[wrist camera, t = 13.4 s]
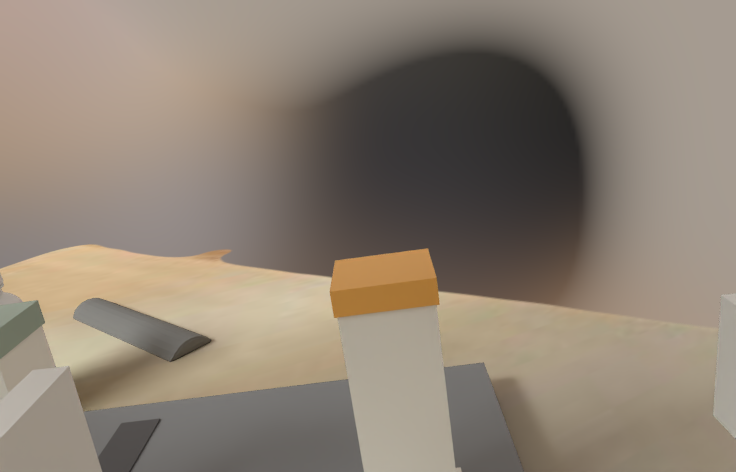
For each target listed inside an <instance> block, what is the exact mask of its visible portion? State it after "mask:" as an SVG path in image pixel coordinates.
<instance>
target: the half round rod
mask: <svg viewBox="0 0 736 472" xmlns="http://www.w3.org/2000/svg"><path fill="white" fill-rule="evenodd" d="M73 318H74V319H75V320H78V321H80V322H82V323H84V324H87V325H89V326H91V327H93V328H96V329H98V330H100V331H102V332H105V333H107V334H109V335H111V336H113V337H116V338H118V339H120V340H122V341H125V342H127V343H129V344H131V345H134V346H136V347H138V348H140V349H142V350H145V351H147V352H149V353H151V354H154V355H156V356H158V357H160V358H163V359H165V360H167V361H169V362H171V361H174V360H176V359H177V358H179V357H181V356H183V355H185V354H187V353H189V352H191V351H193V350H195V349H197V348H199V347H201V346H203V345H205V344H207V343H209V342H210V341H211V340H210V339H209V338H208V337H206V336H203V335H200V334H197V333H195V332H192V331H189V330H186V329H184V328H181V327H178V326H175V325H173V324H170V323H167V322H164V321H161V320H159V319H156V318H153V317H150V316H148V315H145V314H142V313H139V312H137V311H134V310H131V309H128V308H126V307H123V306H120V305H117V304H115V303H112V302H109V301H106V300H104V299H100V298H92V299H88V300H86V301H84V302H82V303H81V304H80V305H79V306H78V307H77V309H76V310H75V312H74V316H73Z"/></svg>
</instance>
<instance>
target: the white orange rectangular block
mask: <svg viewBox="0 0 736 472" xmlns="http://www.w3.org/2000/svg"><path fill="white" fill-rule="evenodd" d="M330 296H331V302H332V308H333V313H334V318H338V324H339V329H340V335H341V341H342V347H343V353H344V359H345V364H346V370H347V376H348V382H349V388H350V394H351V399H352V405H353V411H354V417H355V423H356V429H357V434H358V440H359V446H360V452H361V458H362V464H363V469H364V472H462V471H461V467H459V468H455V460H454V451H453V442H452V434H451V425H450V417H449V408H448V399H447V391H446V382H445V374H444V365H443V356H442V348H441V339H440V331H439V322H438V313H437V305H439V295H438V287H437V278H436V275H435V271H434V268H433V264H432V261H431V258H430V255H429V251H428V249H421V250H413V251H405V252H398V253H390V254H382V255H375V256H368V257H360V258H352V259H345V260H337V261H335V265H334V270H333V276H332V282H331V287H330Z"/></svg>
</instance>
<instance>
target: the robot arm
mask: <svg viewBox="0 0 736 472" xmlns="http://www.w3.org/2000/svg"><path fill="white" fill-rule="evenodd" d="M713 416H714V417H715V418H716V419H717V420H718V421H719V422H720V423H721V424H722V425H723V426H724V427H725V429H726V430H727V431H728V432H729V433H730V434H731V435H732V436H733V437H734V438H735V439H736V293H735V294H727V295H721V304H720V319H719V333H718V348H717V363H716V379H715V394H714V409H713ZM0 472H102V469H101V466H100V463H99V460H98V457H97V453H96V450H95V447H94V444H93V441H92V438H91V434H90V431H89V428H88V425H87V422H86V418H85V415H84V412H83V409H82V406H81V402H80V399H79V396H78V393H77V390H76V387H75V383H74V380H73V377H72V374H71V371H70V367H69V366H65V367H56V368H46V369H37V370H32V371H31V372H30V373H29V374H28V375H27V376H26V377H25V378H24V379H23V380H22V381H21V382H20V383H19V384H18V385H16V386H15V387H14V388H13V389H12V390H11V391H10V392H9V393H8V394H7V395H6V396H5V397H4V398H3V399H2V400H1V401H0Z"/></svg>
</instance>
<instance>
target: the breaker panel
mask: <svg viewBox="0 0 736 472" xmlns="http://www.w3.org/2000/svg"><path fill="white" fill-rule="evenodd" d="M444 374H445V382H446V391H447V399H448V408H449V417H450V425H451V434H452V442H453V451H454V460H455V468H459V467H461V471H462V472H524V470H523V468H522V465H521V462H520V460H519V457H518V454H517V451H516V449H515V446H514V443H513V441H512V438H511V435H510V432H509V430H508V427H507V424H506V422H505V419H504V416H503V413H502V411H501V408H500V405H499V403H498V400H497V397H496V394H495V392H494V389H493V386H492V384H491V381H490V378H489V375H488V373H487V370H486V367H485V365H484V363H476V364H468V365H460V366H452V367H444ZM84 415H85V418H86V422H87V425H88V428H89V431H90V434H91V438H92V441H93V444H94V447H95V450H96V453H97V457H98V460H99V463H100V466H101V469H102V472H364V469H363V464H362V458H361V452H360V446H359V440H358V434H357V429H356V423H355V417H354V411H353V405H352V399H351V394H350V388H349V382H348V379H346V380H338V381H330V382H322V383H314V384H306V385H297V386H289V387H281V388H273V389H265V390H257V391H249V392H240V393H232V394H224V395H216V396H208V397H200V398H192V399H183V400H175V401H167V402H159V403H151V404H143V405H135V406H126V407H118V408H110V409H102V410H94V411H86V412H84Z"/></svg>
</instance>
